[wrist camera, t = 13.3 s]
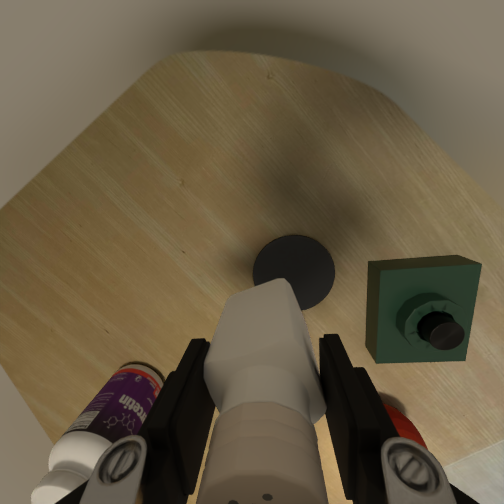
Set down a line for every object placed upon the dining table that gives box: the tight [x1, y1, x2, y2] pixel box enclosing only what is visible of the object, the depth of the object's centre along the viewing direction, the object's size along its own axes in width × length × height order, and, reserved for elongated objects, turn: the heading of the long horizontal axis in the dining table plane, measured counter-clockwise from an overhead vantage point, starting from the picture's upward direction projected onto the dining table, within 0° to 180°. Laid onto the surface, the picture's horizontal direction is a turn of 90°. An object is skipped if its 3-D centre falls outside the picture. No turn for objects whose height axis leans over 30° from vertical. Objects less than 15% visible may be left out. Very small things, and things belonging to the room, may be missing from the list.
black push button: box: [417, 312, 465, 351], centre depth 24 cm, size 3×3×2 cm
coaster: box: [253, 235, 335, 311], centre depth 29 cm, size 10×10×1 cm
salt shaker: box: [196, 278, 329, 504], centre depth 10 cm, size 4×4×10 cm
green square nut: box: [366, 255, 482, 364], centre depth 27 cm, size 12×10×5 cm
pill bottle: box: [31, 364, 163, 504], centre depth 29 cm, size 8×8×14 cm
